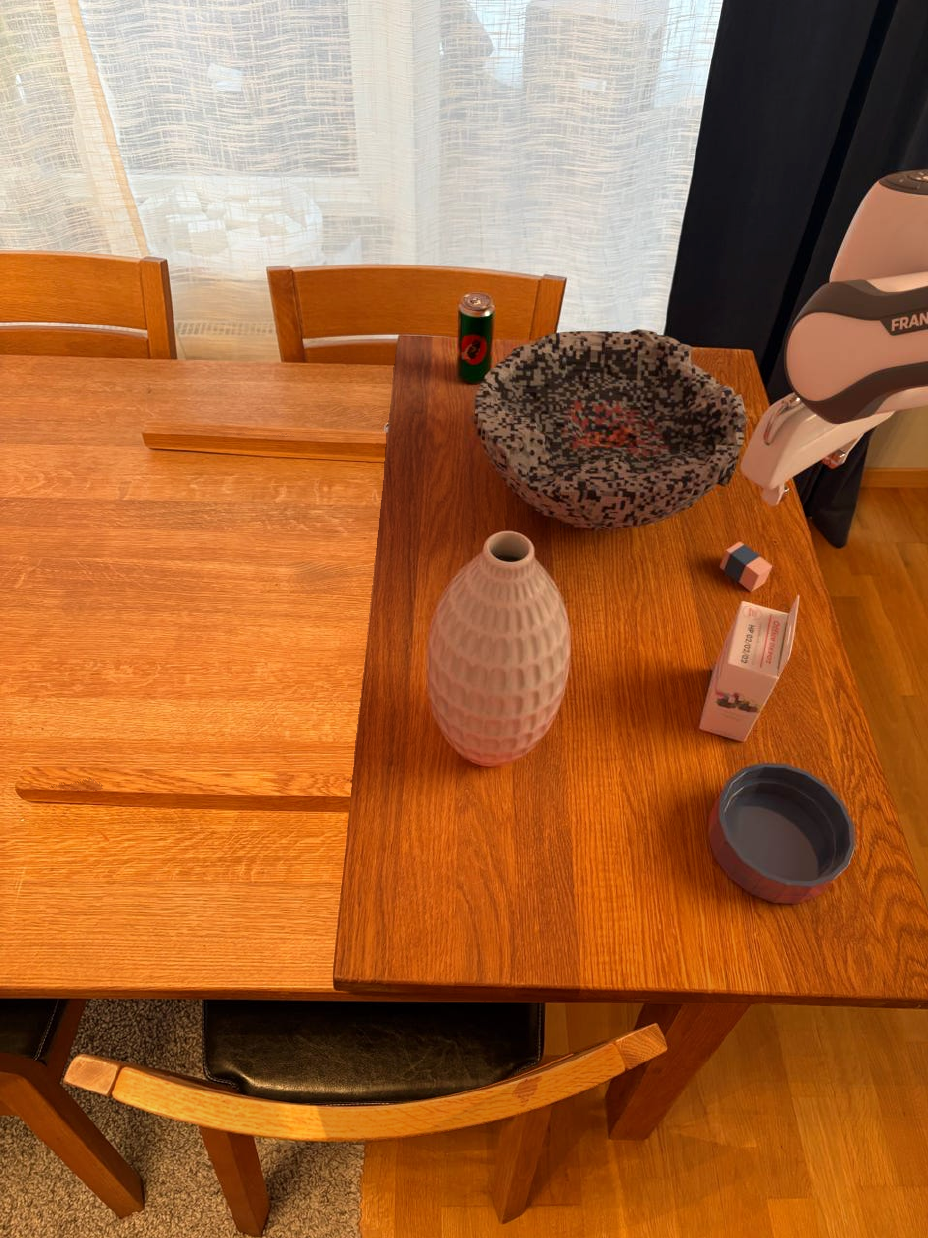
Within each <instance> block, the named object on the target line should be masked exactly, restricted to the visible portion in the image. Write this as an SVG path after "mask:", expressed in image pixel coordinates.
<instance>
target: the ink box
mask: <svg viewBox="0 0 928 1238" xmlns="http://www.w3.org/2000/svg"><path fill="white" fill-rule="evenodd" d="M799 602H800V595H799V594H797V595H796V597H795V600H794V602H793V604H792V607H791V609H790V611H789V613H788V612H784V611H780V610H776V609H773V608H769V607H766V606H763V605H758V604H755V603H752V602H749V601H745V600H741V602H740V604H739V607H738V610H737V612H736V614H735V616H734V619H733V621H732V624H731V625H730V629H729V631H728V633H727V635H726V638H725V640H724V642H723V644H722V647H721V649H720V651H719V653H718V656H717V658H716V661H715V663H714V665H713V667H712V670H711V671H712V672H711V676H710V680H709V685H708V688H707V693H706V697H705V702H704V704H703V709H702V713H701V717H700V721H699V725H698V729H699V730H702V731H704V732H707V733H711V734H714V735H718V736H722V737H724V738H727V739H731V740H734V741H738V742H742V743H744V742H746V740H748V739H747V738H748V736H749V735H750V733H751V731H752V729H753V727H754V725H755V723H756V721H757V720H758V718H759V716H760V714H761V713H762V711H763V709H764V707H765V706H766V703H767V702H768V700H769V698H770V696H771V694H772V693H773V691H774V688H775V687H776V684H777V682H778V681H779V679H780V676H781V674H782V672H783V671H784V669H785V667H786V665H787V664H788V662H789V660H790V658H791V654H792V651H793V650H792V649H793V643H794V637H795V631H796V625H797V619H798V610H799Z"/></svg>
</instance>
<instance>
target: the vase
mask: <svg viewBox="0 0 928 1238" xmlns="http://www.w3.org/2000/svg"><path fill="white" fill-rule="evenodd" d="M563 599H564V598H563V596H562V595H561V592H560V590H559V587H558V586H557V585H556V582H555V581H554V579H553V578H552V576H551V575H550V574H549V572H548V570H546V569H545V567H544V566H543V565H542V563H541V562H539V560H538V559H537V558H536V557H535V547H534V544H533V542H532V541H531V540H530V539H529V538H528V537H527V536H526V535H524V534H523V533H521V532H517V531H514V530H501V531H498V532H495V533H493V534H492V535H490V536H489V537H488V538H487V539H486V540H485V542H484V544H483V547H482V551H481V552H480V553H478V554H477V555H476V556H474V557H473V558H472V559H471V560H470V561H468V562H467V563H466V564H465V565H464V566H463V567H461V568H460V569H459V571H457V573H456V574H455V575H454V576H453V578H451V580H450V581H449V582H448V584H447V586H445V589H444V590H443V593H442V594H441V596H440V598H439V599H438V602H437V604H436V607H435V610H434V612H433V615H432V618H431V620H430V621H431V622H430V625H429V629H428V635H427V642H426V655H425V677H426V687H427V696H428V700H429V703H430V708H431V711H432V715H433V718H434V720H435V722H436V724H437V726H438V728H439V730H440V732H441V734H442V736H443V737H444V738H445V740H446V741H447V743H448V744H449V745H450V746H451V747H452V749H453V750H455V752H456V753H457V754H458V755H460V756H461V757H462V758H464V759H465V760H467V761H469V762H471V763H474V764H476V765H478V766H482V767H491V768H493V767H501V766H506V765H509V764H511V763H515V762H516V761H518V760H520V759H521V758H522V757H523V758H524V756H526V755H527V754H528V753H529V752H531V751H532V750H533V749H534V748H535V747H536V746H537V745H538V744H539V742H540V741H541V740H542V739H543V738H544V737H545V735H547V733H548V732H549V730H550V728H551V726H552V725H553V723H554V721H555V719H556V716H557V715H558V712H559V710H560V707H561V705H562V701H563V698H564V696H565V692H566V688H567V682H568V677H569V671H570V665H571V658H572V657H571V656H572V643H571V642H572V641H571V627H570V622H569V616H568V613H567V608H566V605H565V602H564V600H563Z"/></svg>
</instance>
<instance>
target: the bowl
mask: <svg viewBox="0 0 928 1238" xmlns="http://www.w3.org/2000/svg"><path fill="white" fill-rule="evenodd" d="M692 352H693V347H692V346H691V345H689V344H684V343H680V341H679V340H677V339H676V338H673V337H670V336H668V335H666V334H665V335H664V334H658V332H657V331H652V330H647V329H640V328H637V329H634V330H631V331H628V332H627V331H626V332H625V331H611V330H610V331H609V330H607V331H606V330H604V331H603V330H602V331H601V330H574V331H572V330H571V331H561V332H554V333H551V334H547V335H544V336H541V337H539V338H537V339H536V340H535V343H525V344H523V345H521V346H519V347H515V348H513V349H512V351H511V353H510V354H509V355H507V356H506V357H504V358H503V359H502V360H501V361H499V362H498V363H497V364H496V365H495V366H494V367H492V368H491V371H489V372H488V374H487V375H486V376H485V378H484V381H483V382H482V383H480V385H479V386H478V389H477V390H476V393H475V397H474V408H473V409H474V410H473V424H475V425H476V426H477V428H476V429H477V431H476V435H477V437H478V438H480V445H481V446H483V448H484V451H483V453H484V454H485V455H486V457H487V459H488V461H489V462H490V463H491V465H492V467H493V469H494V470H495V471H496V473H497V475H498V476H499V477H501V478H502V479H503V480H504V482H505V484H506V487H508V488H509V489H511V490H512V492H513V493H514V495H515V496H517V497H518V498H519V499H520V500H522V501H523V502H524V503H527V504H529V505H530V506H531V507H532V508H533V510H534V511H536V512H539V513H541V514H542V515H543V516H545V517H549V518H550V517H551V518H554V519H557V520H559V521H560V522H562V523H566V524H570V525H573V527H574V528H579V529H581V528H582V529H584V528H585V529H590V531H591V532H592V531H611V530H613V531H615V530H621V529H633V528H638V527H642V526H648V525H650V524H656V523H659V522H662V521H664V520H667V519H668V518H671V517H673V516H675V515H677V514H679V513H680V512H682V511H685V510H686V509H690V508H692V507H693V505H694V504H695V503H697V502H698V501H700V500H702V499H703V497H705V496H706V495H707V494H708V493H710V492H711V491H712V490H715V487H716V485H718V486H721V487H724V488H727V485H729V484H730V482H731V479H732V477H733V475H734V471H736V468H737V464H738V461H739V454H740V453H741V449H742V448H743V444H744V441H745V435H744V432H745V429H746V426H747V424H748V417H747V413H746V409H745V404H744V399H743V396H742V392H739V393H737V394H736V393H735V391H734V389H733V387H732V386H729V385H727V384H726V383H724V384H723V385H720V383H719V381H718V380H717V379H716V378H715V377H713V376H712V375H711V374H709V373H708V372H707V371H705V370H704V369H703V368H701V367H699V366H698V365H696V364H695V363H694V362H693V361H692V360H691V359H692Z"/></svg>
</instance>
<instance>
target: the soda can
mask: <svg viewBox="0 0 928 1238" xmlns="http://www.w3.org/2000/svg"><path fill="white" fill-rule="evenodd" d="M493 300H494V299H493V298H492V296H490V295H489V294H487V293H484V292H478V291H477V292H476V291H475V292H469V293H467V294H464V295H463V296H462V297H461V299H460V303H459V305H458V310H457V347H456V349H457V350H456V374H457V376H458V377H459V379H460V380H462V381H463V382H465V383H468V384H472V385H476V384H478V385H479V384H482V383H483V381H484V378H485V376H486V375H487V374H488V372H489V371H491V370H492V369H493V351H494V349H493V348H494V335H495V317H496V306H495V304H494V301H493Z"/></svg>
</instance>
